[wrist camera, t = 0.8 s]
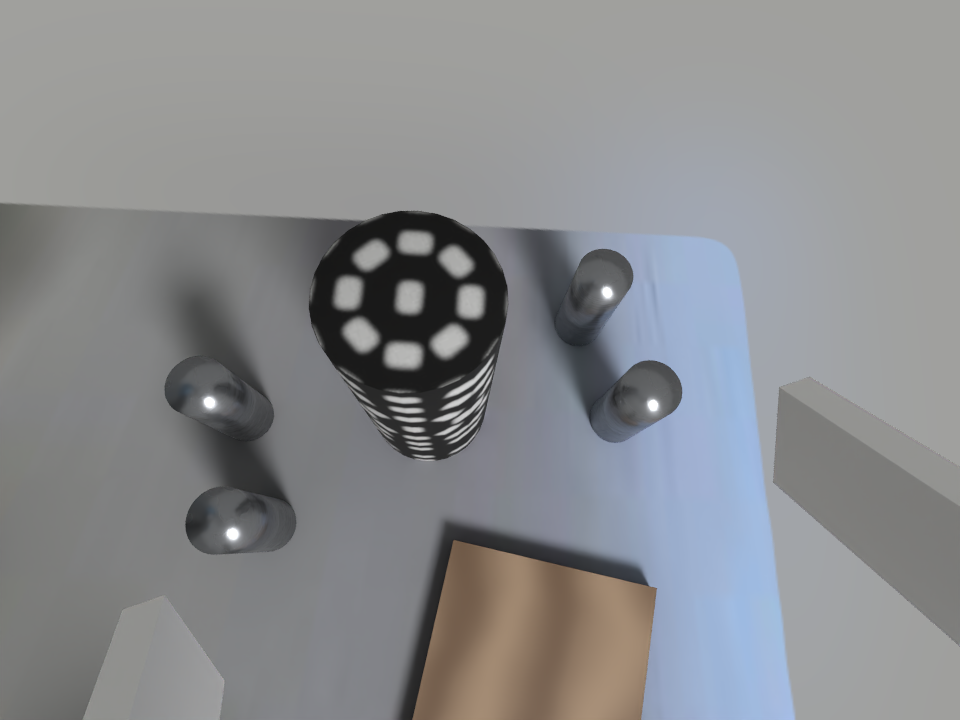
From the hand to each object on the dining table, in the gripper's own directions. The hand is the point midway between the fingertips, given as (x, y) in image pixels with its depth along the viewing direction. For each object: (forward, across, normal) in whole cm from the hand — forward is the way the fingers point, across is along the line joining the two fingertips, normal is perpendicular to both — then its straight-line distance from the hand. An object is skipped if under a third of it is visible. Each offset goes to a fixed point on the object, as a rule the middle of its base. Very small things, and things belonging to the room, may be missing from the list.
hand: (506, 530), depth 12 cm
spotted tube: (+28, 0, -14) cm, 31 cm away
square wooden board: (+14, +1, -28) cm, 31 cm away
